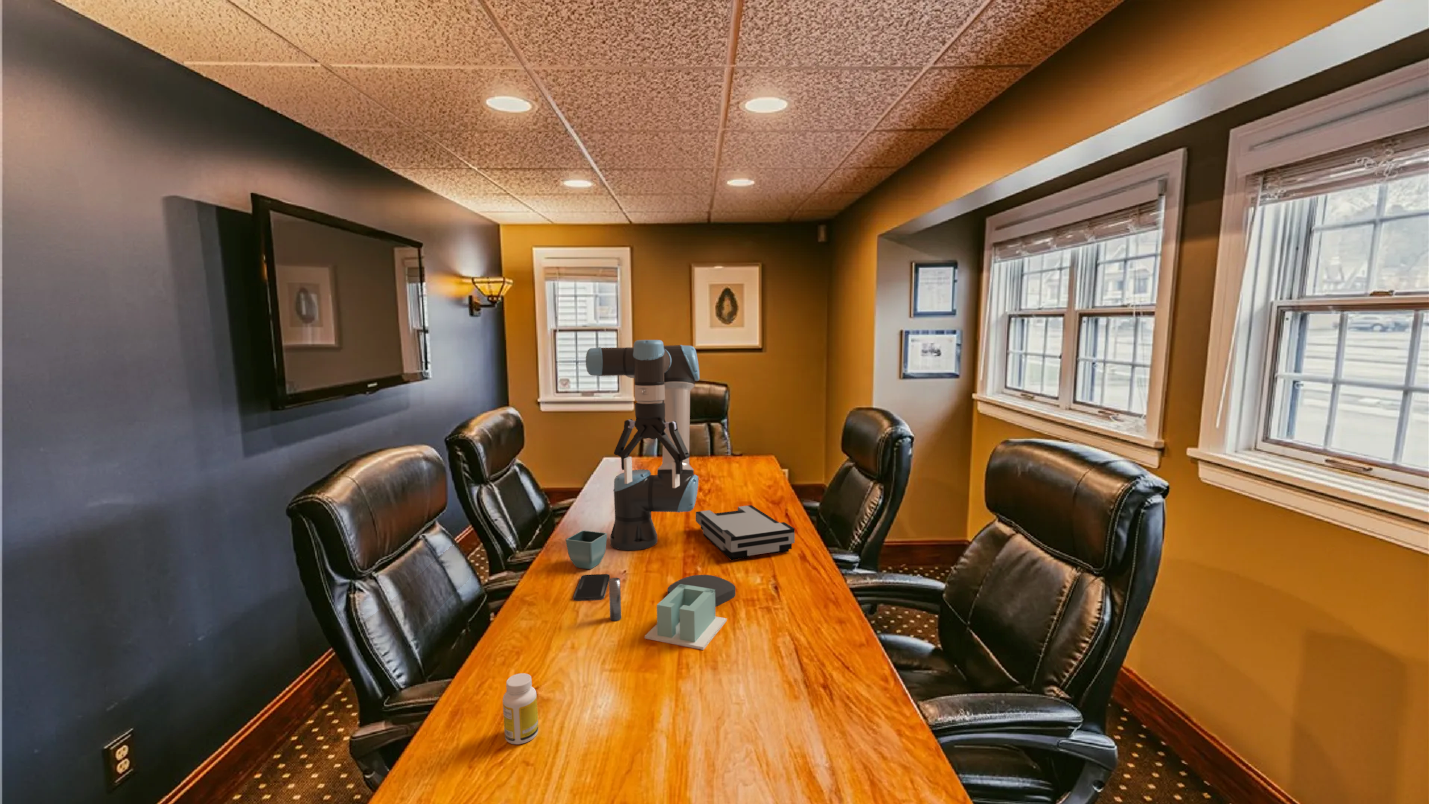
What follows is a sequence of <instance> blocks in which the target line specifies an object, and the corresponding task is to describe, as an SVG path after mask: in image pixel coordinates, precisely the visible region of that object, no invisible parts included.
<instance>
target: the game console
mask: <svg viewBox="0 0 1429 804" xmlns="http://www.w3.org/2000/svg"><path fill="white" fill-rule="evenodd" d="M695 522H696V523H697V524H698V525H699V526H700V529H701V530H702V535H703V537H705V538H706V539H707V540H708V541H709V542H710V543H712V544H713V545H714V546H715V547H716V548H717V549H718V550H719V551H720V552H721V553H723V555H725V556H726V557H727V558H728V559H729V560H730V561H737V560H742V559H749V558H750V557H751V556H755V555H760V554H761V555H762V554H763V555H764V554H767V553H769V554H770V555H774V554H775V555H776V554H781V553H782V554H783V553H787V552H788V553H789V551H790V550H792V548H793V547H792V545H793V544H795V541H796V540H795V539H796V538H795V537H796V536H795V535H796V534H795V533H796V532H795V531H796V530H795V529H796V528H795V527H793V526H792V525H790V524H788V523H787V522H786V521H785V522H784V521H783V522H782V521H781V522H779V521H777V520H776V519H774V518H772V517H771V516H770V515H768V514H766V513H765V512H763V511H762V510H760V509H758V508H757V507H755V506H753V505H752V504H751V505H743V506H742V505H741V506H738V507H737V510H730V511H725V512H724V511H723V512H717V513H716V512H715V513H714V512H713V511H711V510H710V509H709V510H701V511H695Z"/></svg>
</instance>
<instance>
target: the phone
mask: <svg viewBox="0 0 1429 804" xmlns="http://www.w3.org/2000/svg"><path fill="white" fill-rule="evenodd" d="M609 579H611V578H610V574H608V573H602V574H601V573H597V574H594V573H593V574H583V575H581V576H580V578H579V581H578V584H577V586H576V589H575V591H574V594H573V596H572V597H573V598H572V599H573V601H575V602H582V601H586V602H587V601H602V600H604V599H605V596H606V594H607V589H608V587H609Z"/></svg>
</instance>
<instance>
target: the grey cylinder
mask: <svg viewBox="0 0 1429 804" xmlns="http://www.w3.org/2000/svg"><path fill="white" fill-rule="evenodd" d="M608 589H609V590H608V591H609V593H608V595H609V619H610V621H612V622H617V621H620V620H621V619H622V603H621V602H622V601H621V600H622V599H621V598H622V597H621V595H622V594H621V578H619V577H611V578H610V579H609V583H608Z"/></svg>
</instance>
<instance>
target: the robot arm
mask: <svg viewBox="0 0 1429 804" xmlns="http://www.w3.org/2000/svg"><path fill="white" fill-rule="evenodd" d="M698 359H699V358H698V355H697V350H696V348H695V347H694V346H693V345H683V344H679V345H678V344H677V345H676V344H675V345H673V344H672V345H664V342H663V341H662V340H661V339H637V340H635V341H634V343H633V347H631V346H630V347H628V346H627V347H601V346H599V347H591V348H589V349H587V351H586V354H585V367H586V371H587V374H588V375H590V376H592V377H593V376H594V377H595V376H597V377H608V376H609V377H611V376H613V377H614V376H615V377H617V376H625V377H627V378H630V379H634V380H633V381H634V401H636V402H635V404H634V415H635V420H634V419H633V418H629V419H625V420H624V424H623V430H622V432H621V434H620V437H619V439H618V441H617V444H616V446H615V449H614V452H613V455H615V456H619V458H620V460H621V461H620V462H621V464H620V465H621V470H622V471H623V472H621V473H620V474H618V475H615V476H616V477H615V478H614V480H613V491H612V492H613V501H614V504H613V505H614V523H613V527H612V530H611V532H610V536H609V544H610V546H611V547H612V548H614V549H616V550H621V551H640V550H645V549H648V548H652V547H654V546H655V545H656V544H657V543H658V533H657V531H656V528H655V524H654V522H653V519H652V513H653V512H655V513H657V512H658V513H684V512H685V513H686V512H691V511H692V510H693V509H694V508H695V504H696V503H697V502H696V501H697V495H698V489H699V476H698V475H696V474H695V473H694V470H695V469H694V468H693V467H692V465H690V429H691V427H690V426H691V424H690V423H691V421H690V420H691V419H690V418H691V417H690V416H691V391H692V390H693V389H694V388H695V387H696V382H698V381H699V380H700V365H699V360H698ZM634 428H635V429H636V432H635V434H634V435H633V437H632V439H630V441H629V438H630V436H631V434H632V432H633V429H634ZM642 439H645V440H646V439H651V440H658V442H660V443H661V445H662V462H661V463H662V464H661V465H660V466H659V467H658V468H657V470H656V471H657V472H656V473H657V474H652V473H651V471H650V469H645V468H643V469H641V468H640V469H633V462H632V461H633V458H632V456H630V455H631V453H632V452H633V451H634V449H636V446H637V445H638V444H639V443H640V441H641V440H642ZM628 441H629V443H628ZM627 443H628V444H627Z"/></svg>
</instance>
